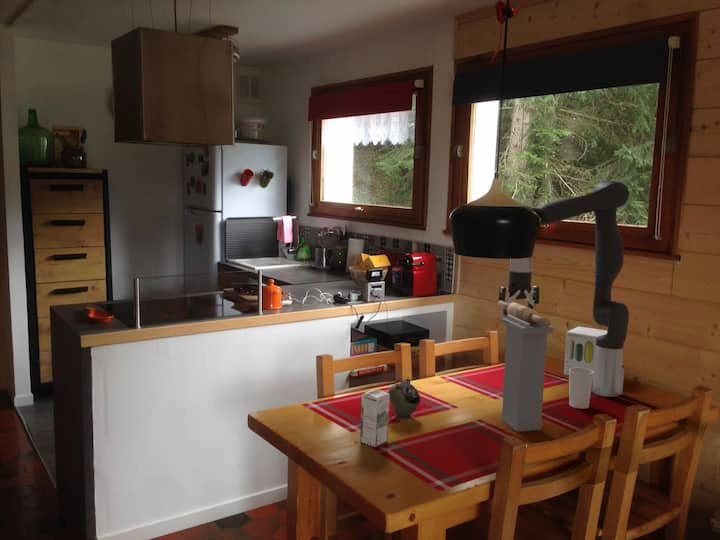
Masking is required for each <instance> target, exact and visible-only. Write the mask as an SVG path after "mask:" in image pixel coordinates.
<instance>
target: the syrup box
mask: <svg viewBox="0 0 720 540" xmlns="http://www.w3.org/2000/svg"><path fill="white" fill-rule="evenodd" d="M389 397H390V394H389V392H386V391H384V390H380V389H372V390H369V391H366V392H363V393H361V406H360V407H361V408H360V429H359V430H360V432H359V433H360V434H359V442H360V443H361V442H362V444H364V443H365V445H367V444H368V445H367V446H370V445H371V446H370V447H373V446H374V447H373V448H377V447H379V446H381V445H383V444H385V443H388V439H389V419H390V417H389V416H390V399H389Z"/></svg>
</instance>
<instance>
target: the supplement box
mask: <svg viewBox="0 0 720 540" xmlns="http://www.w3.org/2000/svg"><path fill="white" fill-rule="evenodd" d="M607 331H608V330H604V329H598V328H592V327H587V326H586V327H585V326H579V325H578V326H576V327H575V328H572V329H570V330H567V331H566V337H565V349H564V350H565V353H564V364H563V365H564V368H563V375H564V376H568V375H569V369H570V368H575V367H579V368H586V369H590V370H592V371H594V361H595V347H596V338H597V337H598V336H602V335H606V334H607Z"/></svg>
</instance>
